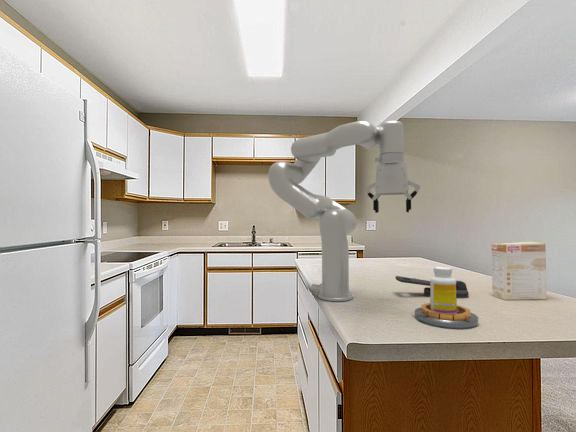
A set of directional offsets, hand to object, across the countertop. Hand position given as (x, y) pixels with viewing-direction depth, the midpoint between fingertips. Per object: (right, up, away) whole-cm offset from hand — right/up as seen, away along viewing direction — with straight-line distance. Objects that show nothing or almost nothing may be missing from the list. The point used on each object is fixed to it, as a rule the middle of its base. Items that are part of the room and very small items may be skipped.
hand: (392, 212), depth 106 cm
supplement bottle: (+10, -29, -15) cm, 34 cm away
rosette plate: (+10, -30, -15) cm, 35 cm away
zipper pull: (+19, -31, +13) cm, 38 cm away
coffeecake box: (+48, -30, +9) cm, 57 cm away
